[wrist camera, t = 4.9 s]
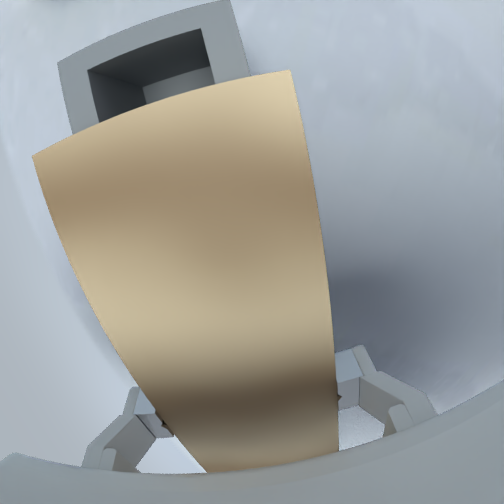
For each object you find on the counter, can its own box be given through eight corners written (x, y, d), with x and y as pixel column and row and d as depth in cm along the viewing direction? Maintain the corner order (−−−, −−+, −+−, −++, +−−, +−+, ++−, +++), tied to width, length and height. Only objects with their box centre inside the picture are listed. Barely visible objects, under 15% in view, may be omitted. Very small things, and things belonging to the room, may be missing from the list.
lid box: (292, 315, 19) (315, 400, 13) (208, 334, 20) (201, 420, 13) (230, 49, 13) (229, -2, 6) (125, 82, 13) (57, 62, 7)
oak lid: (329, 446, 16) (338, 480, 14) (231, 463, 17) (232, 498, 14) (273, 84, 8) (290, 69, 6) (78, 144, 9) (32, 156, 6)
